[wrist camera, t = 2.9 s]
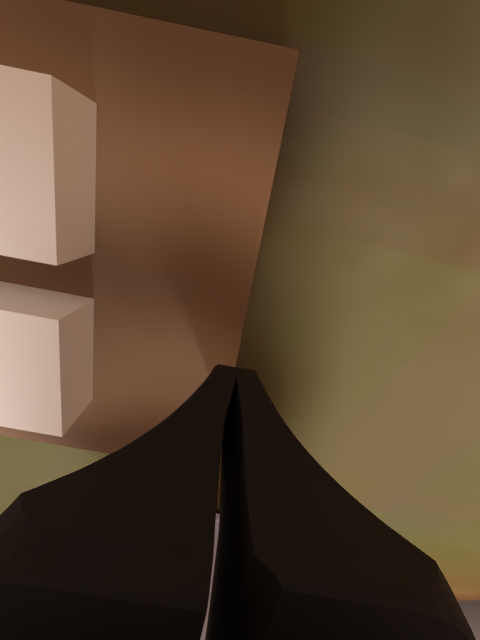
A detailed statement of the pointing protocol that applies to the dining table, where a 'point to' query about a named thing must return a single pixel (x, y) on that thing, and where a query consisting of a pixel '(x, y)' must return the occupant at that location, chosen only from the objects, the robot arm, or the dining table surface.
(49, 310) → the tile
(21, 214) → the tile
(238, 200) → the board
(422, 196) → the dining table surface
